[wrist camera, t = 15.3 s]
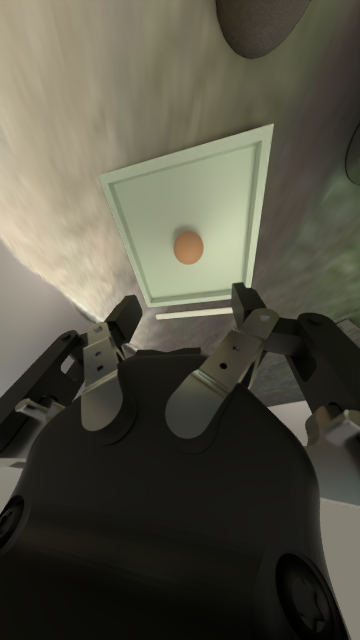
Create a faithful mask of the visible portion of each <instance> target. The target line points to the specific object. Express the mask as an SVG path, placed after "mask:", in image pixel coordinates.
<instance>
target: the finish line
mask: <svg viewBox="0 0 360 640" xmlns="http://www.w3.org/2000/svg"><path fill="white" fill-rule="evenodd" d="M225 313H233V311H232V307H225V308H214V309H204V310H193V311H183V312H172V313H162V314H156V318H157V319H168V318H179V317H191V316H202V315H213V314H225Z"/></svg>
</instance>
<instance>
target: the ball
mask: <svg viewBox="0 0 360 640" xmlns="http://www.w3.org/2000/svg"><path fill="white" fill-rule="evenodd" d="M203 249H204V246H203V241H202V239H201V238H200V236H199V235H198V234H196V233H195V232H191V231H186V232H183V233H181V234H180V235H179V236H178V237H177V238H176V240H175V243H174V254H175V257H176V258H177V260H178V261H179V262H181V263H183V264H186V265H190V264H194V263H196V262H197V261H198V260H199V259H200V258H201V256H202V254H203Z"/></svg>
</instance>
